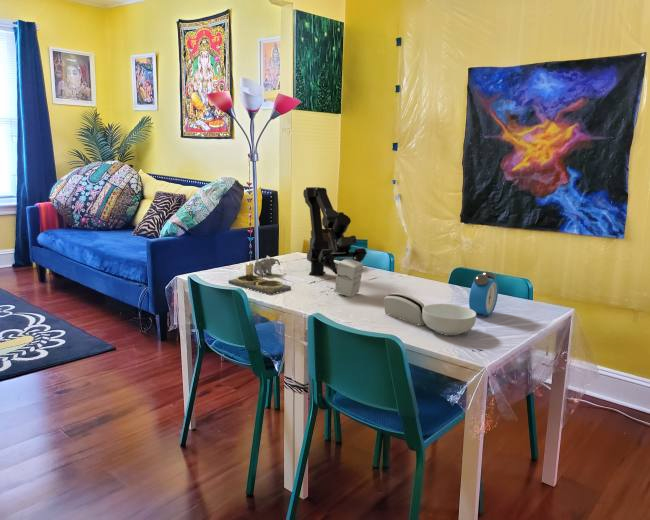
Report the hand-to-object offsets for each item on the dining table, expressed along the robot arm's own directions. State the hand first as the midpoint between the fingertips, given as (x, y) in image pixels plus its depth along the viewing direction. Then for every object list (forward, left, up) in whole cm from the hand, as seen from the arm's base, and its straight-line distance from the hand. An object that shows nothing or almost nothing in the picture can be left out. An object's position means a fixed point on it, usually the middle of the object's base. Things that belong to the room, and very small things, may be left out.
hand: (347, 273), depth 215 cm
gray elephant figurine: (-24, -39, -9) cm, 47 cm away
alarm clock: (+13, +50, -9) cm, 52 cm away
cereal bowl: (+35, +37, -9) cm, 51 cm away
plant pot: (-51, -17, -9) cm, 55 cm away
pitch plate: (-2, -36, -9) cm, 37 cm away
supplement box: (0, 0, -8) cm, 8 cm away
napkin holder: (+25, +23, -9) cm, 35 cm away
